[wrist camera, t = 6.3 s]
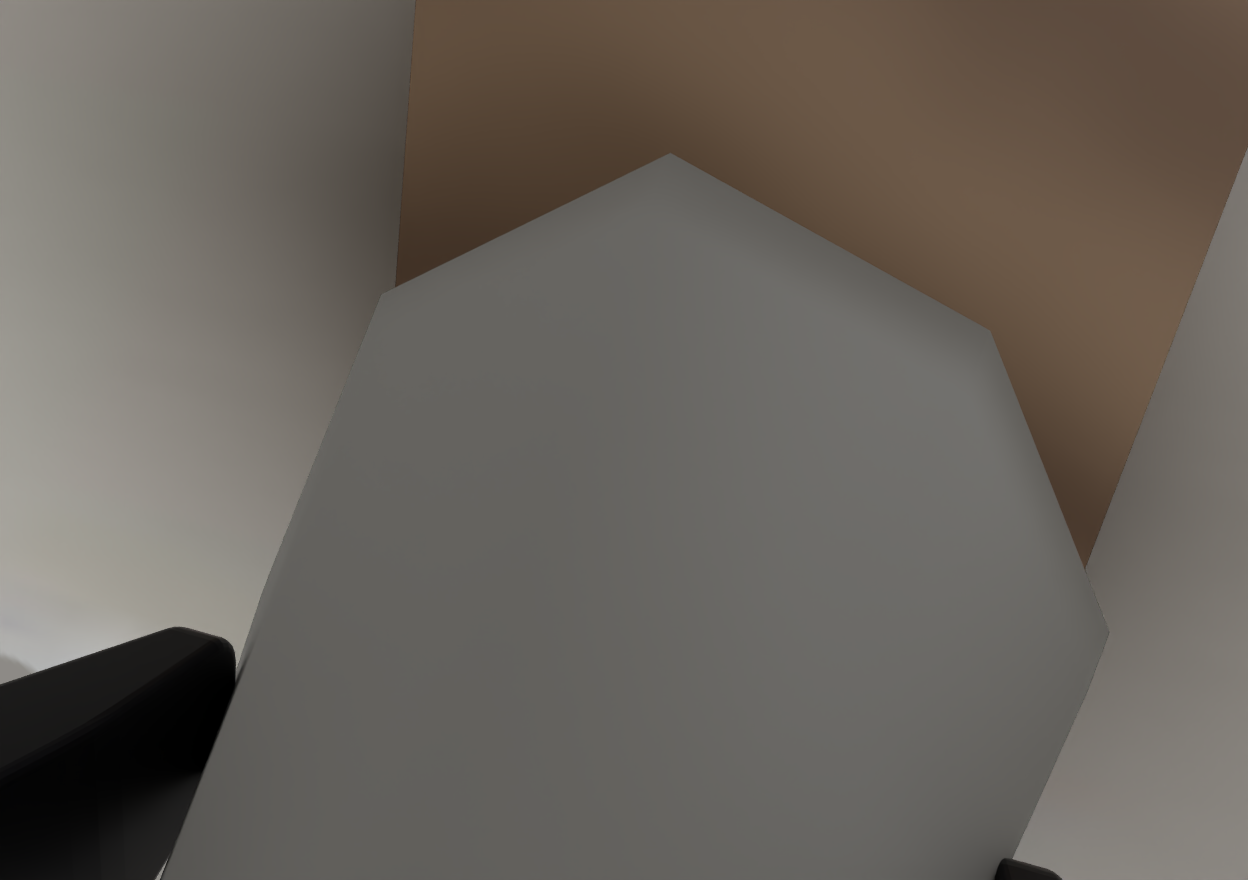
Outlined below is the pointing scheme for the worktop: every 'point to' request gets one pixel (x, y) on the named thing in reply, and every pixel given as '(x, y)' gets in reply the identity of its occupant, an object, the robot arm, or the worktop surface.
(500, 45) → the walnut board
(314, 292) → the worktop surface
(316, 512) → the flask
